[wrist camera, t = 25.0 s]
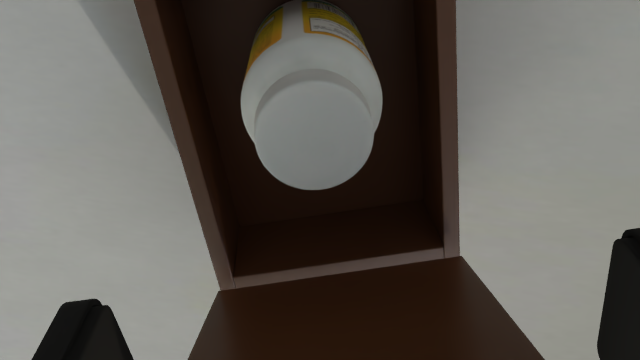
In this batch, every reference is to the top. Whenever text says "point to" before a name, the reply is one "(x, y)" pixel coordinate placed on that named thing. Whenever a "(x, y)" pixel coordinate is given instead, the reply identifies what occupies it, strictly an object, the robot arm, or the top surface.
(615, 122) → the top surface
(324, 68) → the supplement bottle
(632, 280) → the robot arm
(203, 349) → the brown drawer front
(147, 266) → the top surface
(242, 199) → the brown box
